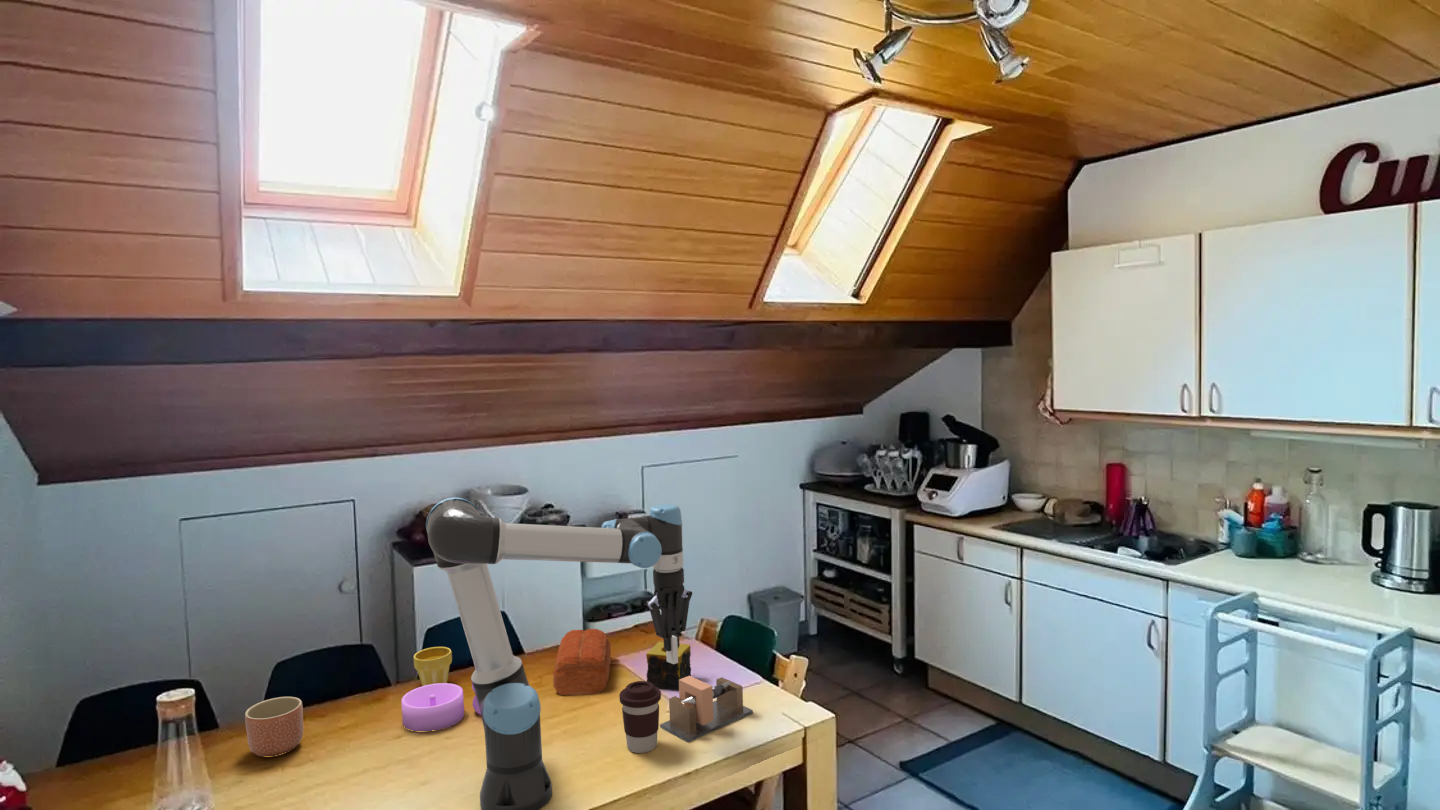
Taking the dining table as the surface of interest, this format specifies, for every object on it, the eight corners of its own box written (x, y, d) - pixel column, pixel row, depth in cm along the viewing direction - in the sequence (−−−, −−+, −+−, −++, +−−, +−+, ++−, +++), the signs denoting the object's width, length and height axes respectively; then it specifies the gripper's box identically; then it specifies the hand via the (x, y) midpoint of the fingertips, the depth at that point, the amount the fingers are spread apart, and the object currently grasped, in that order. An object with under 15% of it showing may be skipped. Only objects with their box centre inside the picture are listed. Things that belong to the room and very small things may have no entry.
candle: (646, 688, 234) (644, 653, 233) (659, 673, 243) (657, 640, 242) (680, 691, 231) (679, 657, 230) (691, 677, 240) (690, 643, 239)
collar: (702, 725, 206) (701, 690, 205) (679, 713, 213) (678, 679, 212) (713, 720, 209) (712, 686, 208) (690, 709, 215) (689, 675, 214)
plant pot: (413, 682, 242) (411, 650, 241) (450, 675, 246) (449, 643, 245) (417, 696, 232) (415, 662, 231) (455, 689, 237) (453, 655, 236)
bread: (612, 656, 258) (610, 623, 257) (608, 693, 231) (607, 657, 230) (561, 659, 256) (559, 626, 255) (552, 697, 230) (550, 660, 229)
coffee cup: (656, 758, 195) (654, 696, 194) (616, 755, 197) (613, 694, 196) (667, 737, 205) (665, 679, 203) (628, 735, 207) (626, 676, 205)
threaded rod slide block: (687, 742, 202) (686, 711, 201) (660, 727, 210) (659, 697, 209) (752, 712, 217) (752, 683, 216) (724, 699, 225) (723, 671, 224)
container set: (399, 736, 209) (396, 686, 208) (406, 710, 224) (403, 663, 223) (502, 722, 216) (499, 672, 215) (501, 697, 230) (499, 651, 229)
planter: (315, 744, 206) (312, 702, 205) (267, 768, 195) (263, 723, 194) (286, 733, 212) (283, 692, 211) (237, 755, 202) (233, 712, 201)
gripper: (656, 577, 195) (660, 674, 197) (698, 565, 204) (702, 658, 206) (637, 571, 201) (641, 665, 203) (679, 559, 209) (683, 650, 212)
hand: (672, 661), depth 204 cm, fingers closed
